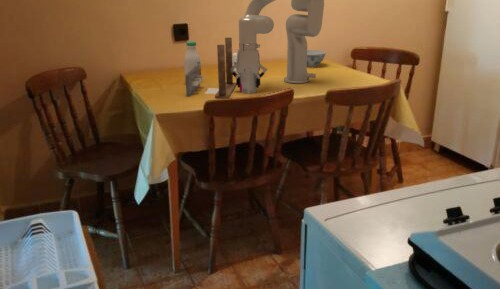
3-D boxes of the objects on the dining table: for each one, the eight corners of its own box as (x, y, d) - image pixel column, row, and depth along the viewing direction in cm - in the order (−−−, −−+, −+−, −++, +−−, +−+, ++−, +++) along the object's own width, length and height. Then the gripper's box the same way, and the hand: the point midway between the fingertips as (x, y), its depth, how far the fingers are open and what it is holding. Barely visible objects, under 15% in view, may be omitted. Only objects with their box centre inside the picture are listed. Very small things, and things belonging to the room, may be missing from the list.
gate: (236, 84, 213) (235, 37, 205) (228, 98, 190) (227, 46, 182) (224, 84, 213) (222, 37, 205) (214, 98, 191) (212, 45, 183)
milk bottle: (194, 85, 215) (192, 43, 208) (182, 83, 219) (179, 42, 211) (204, 82, 221) (202, 41, 214) (192, 80, 225) (189, 40, 218)
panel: (205, 86, 213) (204, 65, 209) (195, 98, 194) (194, 75, 191) (196, 86, 213) (195, 65, 209) (186, 98, 195) (185, 75, 191)
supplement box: (257, 93, 201) (257, 67, 197) (248, 95, 197) (248, 69, 193) (248, 90, 205) (247, 65, 201) (239, 93, 201) (238, 67, 197)
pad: (230, 90, 207) (230, 88, 206) (226, 95, 197) (226, 94, 197) (208, 89, 208) (208, 87, 207) (204, 95, 199) (204, 93, 198)
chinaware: (294, 64, 260) (295, 50, 258) (319, 62, 264) (319, 49, 261) (303, 69, 247) (304, 55, 244) (329, 67, 250) (329, 53, 247)
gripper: (268, 45, 196) (268, 85, 203) (229, 45, 198) (230, 84, 204) (267, 48, 189) (267, 89, 196) (226, 48, 191) (227, 88, 197)
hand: (248, 86), depth 200 cm, fingers closed on supplement box, 7 cm apart
